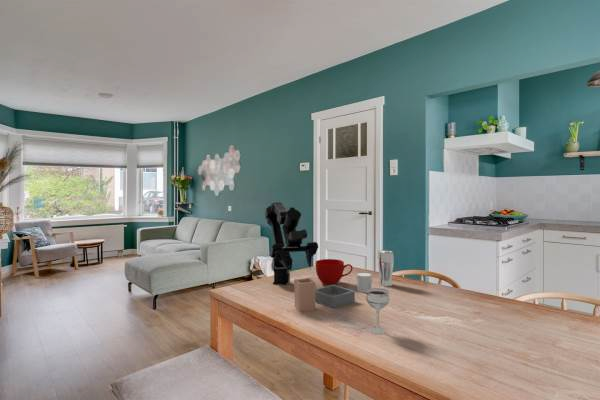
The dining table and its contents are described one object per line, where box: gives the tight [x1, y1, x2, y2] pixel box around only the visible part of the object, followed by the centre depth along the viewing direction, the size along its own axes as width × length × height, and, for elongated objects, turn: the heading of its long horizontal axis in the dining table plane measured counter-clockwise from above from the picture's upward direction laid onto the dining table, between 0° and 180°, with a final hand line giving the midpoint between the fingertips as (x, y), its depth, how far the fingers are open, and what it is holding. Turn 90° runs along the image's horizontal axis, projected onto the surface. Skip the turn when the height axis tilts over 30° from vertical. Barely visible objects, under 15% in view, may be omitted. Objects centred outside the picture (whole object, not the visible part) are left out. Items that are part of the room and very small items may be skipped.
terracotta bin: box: [293, 277, 316, 313], centre depth 121 cm, size 6×6×10 cm
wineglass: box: [365, 287, 390, 335], centre depth 101 cm, size 7×7×12 cm
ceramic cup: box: [315, 258, 354, 286], centre depth 152 cm, size 13×17×10 cm
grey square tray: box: [315, 284, 356, 309], centre depth 128 cm, size 12×12×4 cm
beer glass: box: [377, 249, 395, 287], centre depth 150 cm, size 7×7×15 cm
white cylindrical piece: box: [355, 272, 373, 294], centre depth 141 cm, size 7×7×7 cm
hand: (298, 267), depth 127 cm, fingers open, 9 cm apart
